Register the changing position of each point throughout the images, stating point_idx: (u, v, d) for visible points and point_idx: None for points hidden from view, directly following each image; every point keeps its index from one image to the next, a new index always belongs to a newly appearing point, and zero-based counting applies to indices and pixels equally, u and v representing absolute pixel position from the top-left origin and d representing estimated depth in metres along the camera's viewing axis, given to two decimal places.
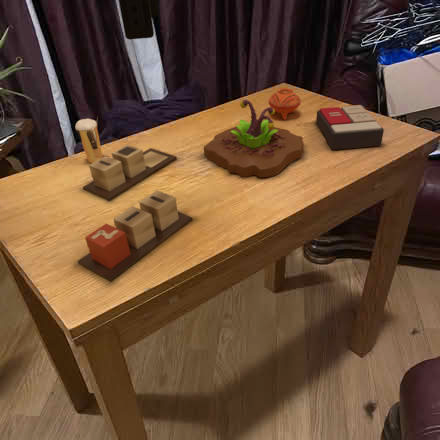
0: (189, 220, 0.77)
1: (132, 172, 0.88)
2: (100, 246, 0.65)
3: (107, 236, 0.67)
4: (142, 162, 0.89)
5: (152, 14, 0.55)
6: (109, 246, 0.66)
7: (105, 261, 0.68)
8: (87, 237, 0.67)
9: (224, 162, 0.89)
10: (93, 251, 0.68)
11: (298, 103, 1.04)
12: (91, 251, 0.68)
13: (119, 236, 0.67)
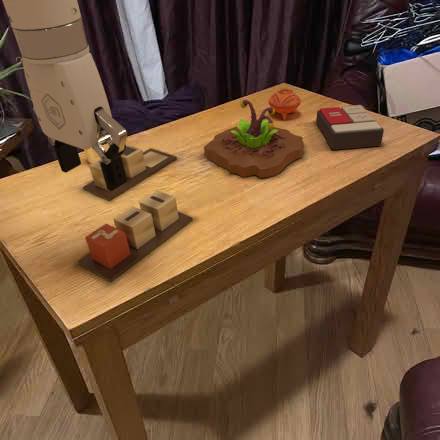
0: (189, 220, 0.77)
1: (132, 172, 0.88)
2: (100, 246, 0.65)
3: (107, 236, 0.67)
4: (142, 162, 0.89)
5: (77, 164, 0.63)
6: (109, 246, 0.66)
7: (105, 261, 0.68)
8: (87, 237, 0.67)
9: (224, 162, 0.89)
10: (93, 251, 0.68)
11: (298, 103, 1.04)
12: (91, 251, 0.68)
13: (119, 236, 0.67)
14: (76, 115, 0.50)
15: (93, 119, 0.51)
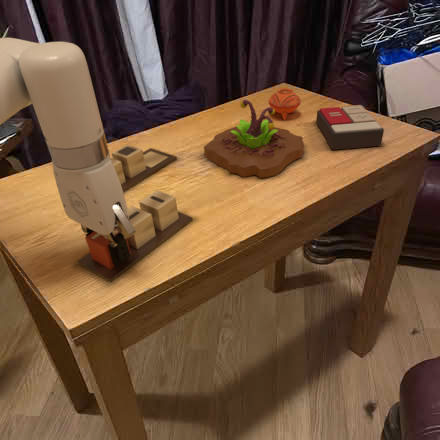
0: (189, 220, 0.77)
1: (132, 172, 0.88)
2: (100, 246, 0.65)
3: None
4: (142, 162, 0.89)
5: None
6: None
7: (105, 261, 0.68)
8: (87, 237, 0.67)
9: (224, 162, 0.89)
10: (93, 251, 0.68)
11: (298, 103, 1.04)
12: (91, 251, 0.68)
13: None
14: (98, 211, 0.58)
15: (112, 212, 0.60)
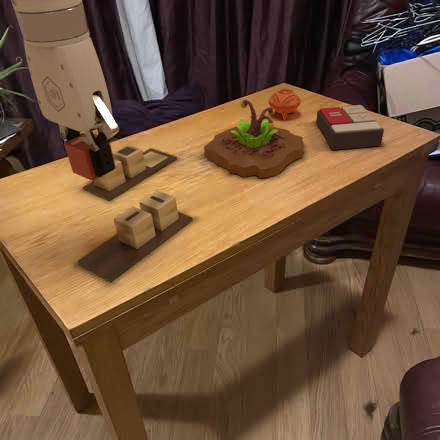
0: (189, 220, 0.77)
1: (132, 172, 0.88)
2: (80, 151, 0.58)
3: (88, 142, 0.59)
4: (142, 162, 0.89)
5: None
6: None
7: (86, 172, 0.60)
8: (66, 143, 0.59)
9: (224, 162, 0.89)
10: (73, 160, 0.60)
11: (298, 103, 1.04)
12: (71, 161, 0.61)
13: None
14: (75, 98, 0.51)
15: (92, 102, 0.52)
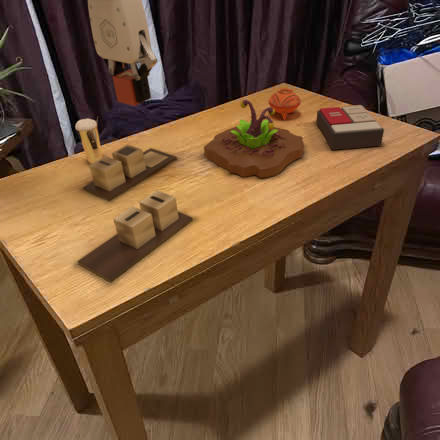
0: (189, 220, 0.77)
1: (132, 172, 0.88)
2: (126, 80, 0.76)
3: (131, 75, 0.77)
4: (142, 162, 0.89)
5: None
6: None
7: (129, 99, 0.78)
8: (114, 76, 0.77)
9: (224, 162, 0.89)
10: (119, 90, 0.78)
11: (298, 103, 1.04)
12: (117, 91, 0.79)
13: None
14: (126, 34, 0.69)
15: (138, 39, 0.70)
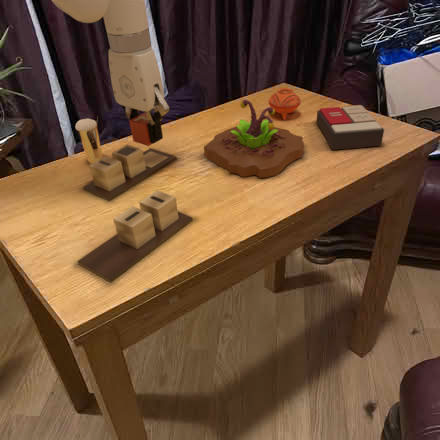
0: (189, 220, 0.77)
1: (132, 172, 0.88)
2: (141, 125, 0.86)
3: (146, 119, 0.87)
4: (142, 162, 0.89)
5: None
6: None
7: (144, 140, 0.88)
8: (131, 120, 0.87)
9: (224, 162, 0.89)
10: (135, 132, 0.88)
11: (298, 103, 1.04)
12: (133, 133, 0.89)
13: None
14: (143, 88, 0.79)
15: (153, 91, 0.80)
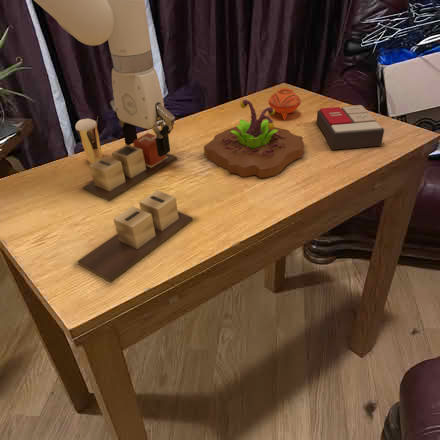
0: (189, 220, 0.77)
1: (132, 172, 0.88)
2: (145, 145, 0.89)
3: (149, 139, 0.90)
4: (142, 162, 0.89)
5: None
6: (151, 146, 0.89)
7: (147, 159, 0.91)
8: (135, 140, 0.90)
9: (224, 162, 0.89)
10: None
11: (298, 103, 1.04)
12: None
13: None
14: (145, 107, 0.81)
15: (154, 109, 0.82)
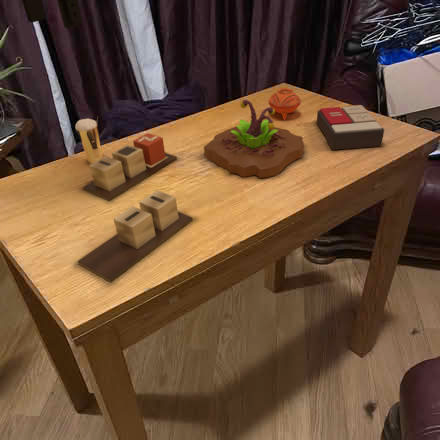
0: (189, 220, 0.77)
1: (132, 172, 0.88)
2: (145, 145, 0.89)
3: (149, 139, 0.90)
4: (142, 162, 0.89)
5: (42, 17, 0.73)
6: (151, 146, 0.89)
7: (147, 159, 0.91)
8: (135, 140, 0.90)
9: (224, 162, 0.89)
10: None
11: (298, 103, 1.04)
12: None
13: (158, 140, 0.90)
14: None
15: None
